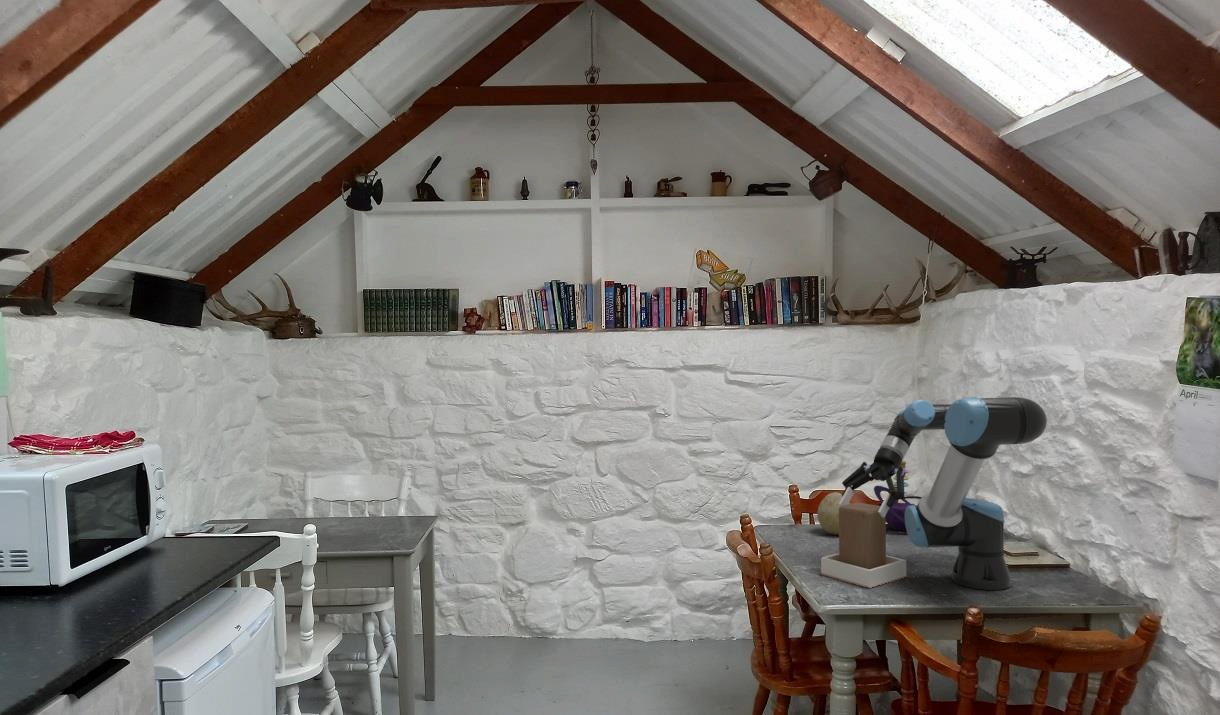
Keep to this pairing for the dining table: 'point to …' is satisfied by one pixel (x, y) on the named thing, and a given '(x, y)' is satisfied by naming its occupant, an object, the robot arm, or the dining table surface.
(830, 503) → the speckled cream ball
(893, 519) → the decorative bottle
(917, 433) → the robot arm
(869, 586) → the shallow white tray
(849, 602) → the dining table surface
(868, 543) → the wooden block
